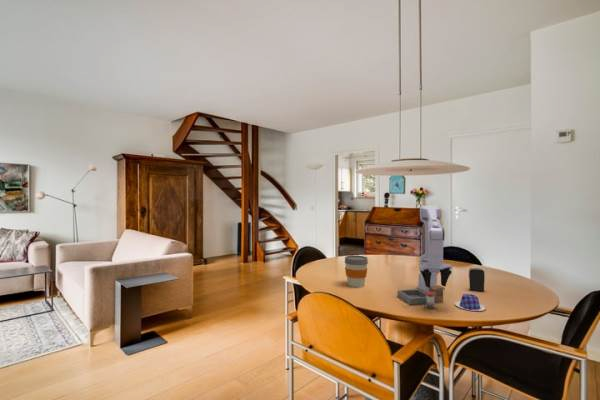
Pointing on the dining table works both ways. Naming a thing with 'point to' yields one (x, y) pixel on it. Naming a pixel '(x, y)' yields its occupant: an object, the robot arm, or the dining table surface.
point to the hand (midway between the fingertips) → (435, 286)
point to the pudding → (470, 303)
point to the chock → (437, 292)
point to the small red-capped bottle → (430, 299)
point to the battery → (476, 279)
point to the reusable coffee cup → (356, 270)
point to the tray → (412, 296)
